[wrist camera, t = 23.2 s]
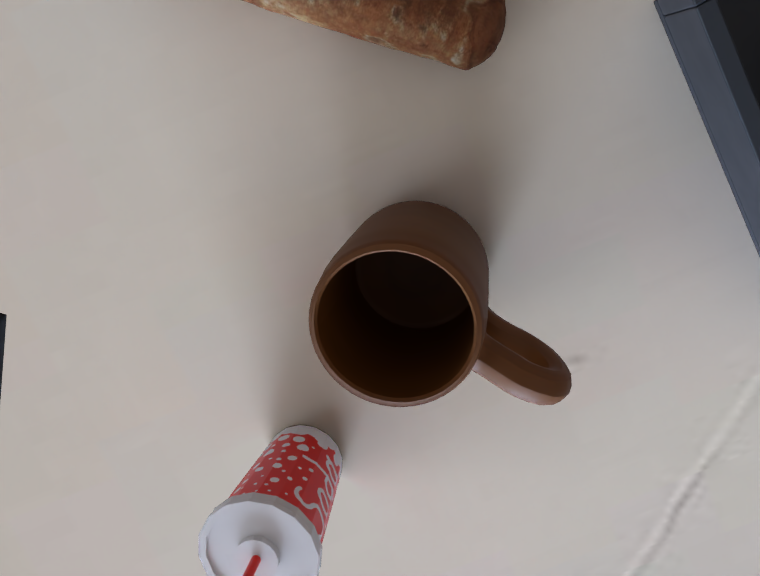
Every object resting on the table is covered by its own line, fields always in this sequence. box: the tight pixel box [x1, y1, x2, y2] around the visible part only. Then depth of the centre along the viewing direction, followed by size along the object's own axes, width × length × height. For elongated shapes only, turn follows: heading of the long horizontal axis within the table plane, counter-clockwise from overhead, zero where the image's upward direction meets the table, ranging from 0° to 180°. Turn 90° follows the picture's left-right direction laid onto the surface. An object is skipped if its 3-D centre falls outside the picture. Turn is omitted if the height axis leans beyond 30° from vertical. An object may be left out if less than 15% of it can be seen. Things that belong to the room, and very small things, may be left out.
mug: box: [309, 201, 571, 407], centre depth 34 cm, size 12×8×9 cm, turn 66°
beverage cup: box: [198, 425, 342, 576], centre depth 36 cm, size 6×6×14 cm
